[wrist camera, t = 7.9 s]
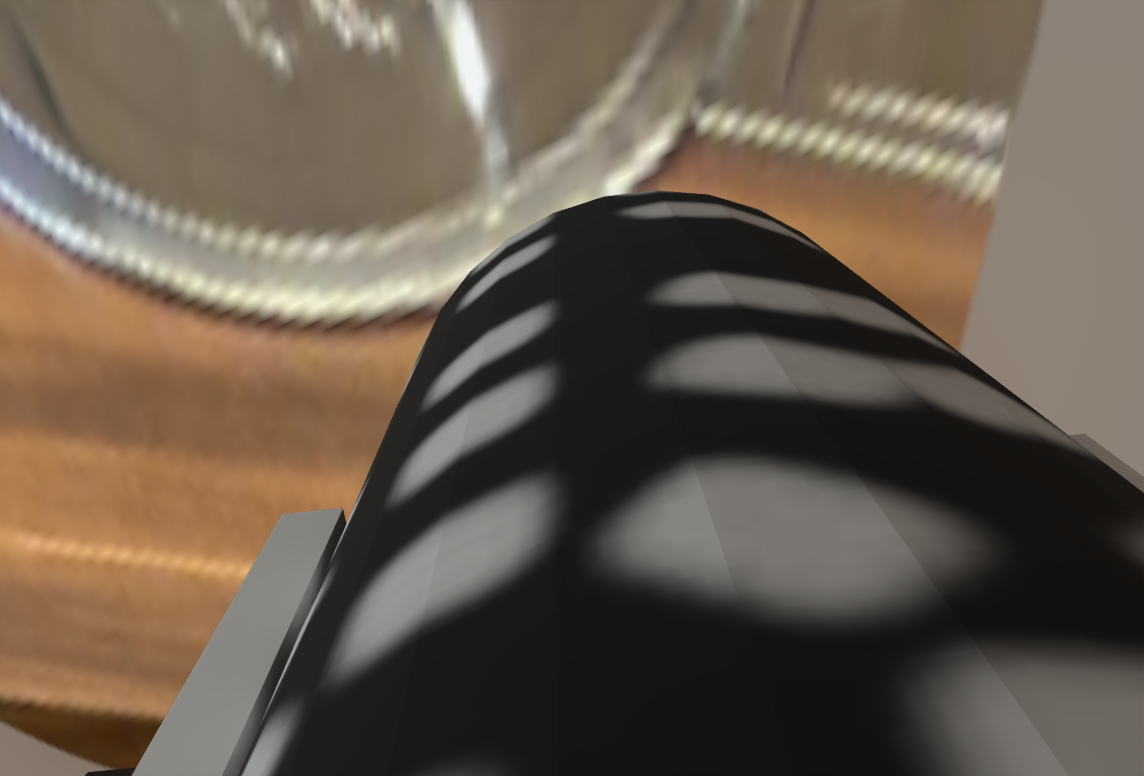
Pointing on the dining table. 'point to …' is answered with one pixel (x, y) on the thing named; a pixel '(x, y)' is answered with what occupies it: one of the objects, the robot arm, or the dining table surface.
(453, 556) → the spotted tube
